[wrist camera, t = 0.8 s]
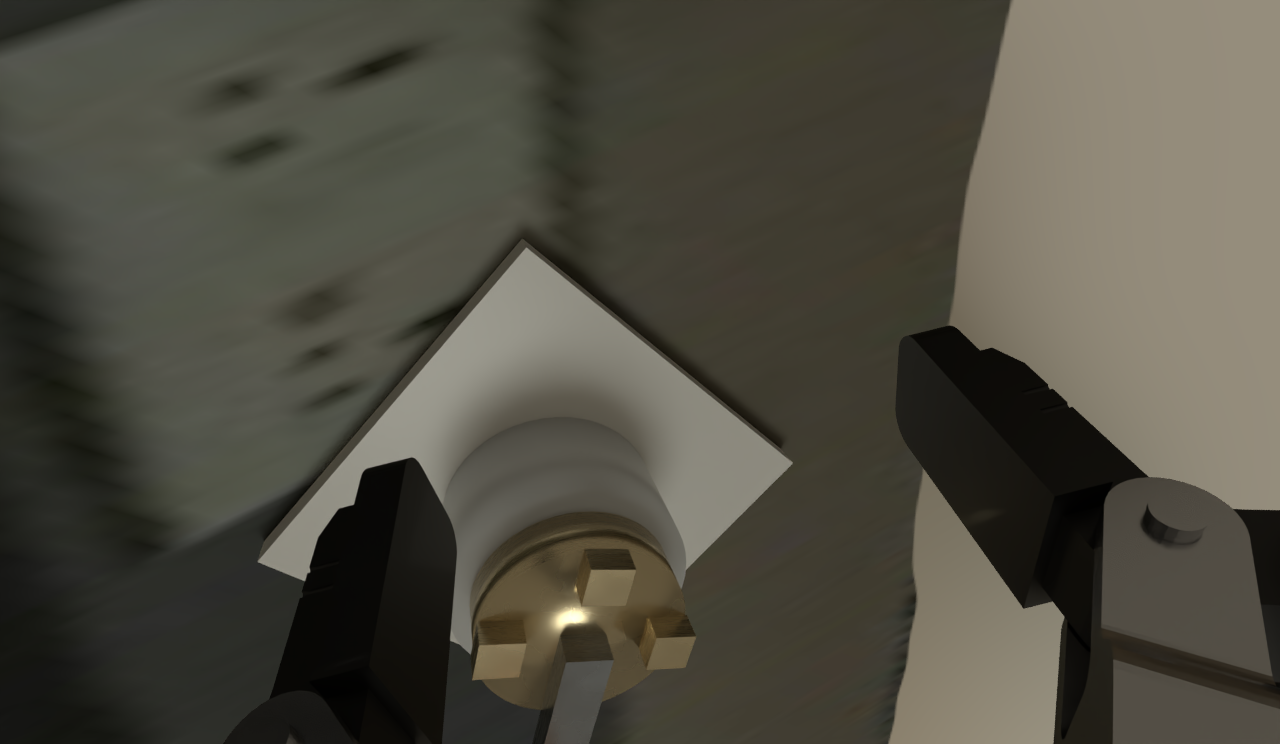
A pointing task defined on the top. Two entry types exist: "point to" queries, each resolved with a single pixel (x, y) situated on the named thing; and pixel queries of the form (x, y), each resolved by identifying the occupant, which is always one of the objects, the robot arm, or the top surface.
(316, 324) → the top surface
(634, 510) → the cylinder on square plate
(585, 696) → the lever-handled chuck
